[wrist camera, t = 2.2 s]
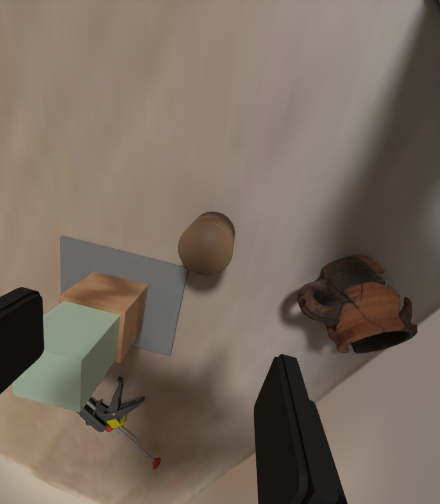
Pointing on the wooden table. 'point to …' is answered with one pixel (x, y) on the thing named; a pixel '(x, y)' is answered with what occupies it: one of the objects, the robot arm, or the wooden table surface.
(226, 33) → the wooden table surface
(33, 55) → the wooden table surface
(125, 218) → the wooden table surface
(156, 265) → the mat
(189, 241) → the dowel
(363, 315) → the pottery mug
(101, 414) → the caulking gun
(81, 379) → the tower mid
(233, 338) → the wooden table surface
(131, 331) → the tower base
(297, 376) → the robot arm
